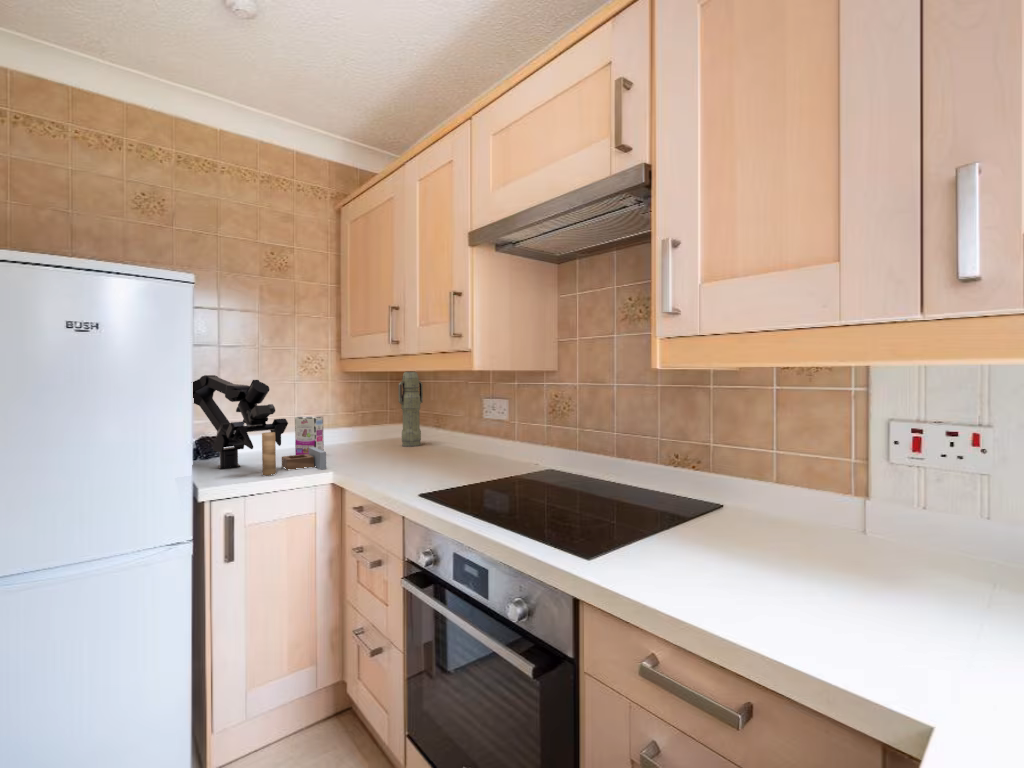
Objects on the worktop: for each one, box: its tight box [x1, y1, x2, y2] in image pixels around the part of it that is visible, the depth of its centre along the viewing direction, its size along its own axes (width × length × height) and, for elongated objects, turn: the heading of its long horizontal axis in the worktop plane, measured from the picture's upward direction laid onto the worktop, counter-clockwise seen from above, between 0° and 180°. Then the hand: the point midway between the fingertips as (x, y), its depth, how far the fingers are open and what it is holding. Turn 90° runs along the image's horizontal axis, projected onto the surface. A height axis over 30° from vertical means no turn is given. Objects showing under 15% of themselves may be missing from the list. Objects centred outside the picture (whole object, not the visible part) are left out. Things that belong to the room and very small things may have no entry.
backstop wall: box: [309, 447, 327, 470], centre depth 178 cm, size 16×2×6 cm, turn 36°
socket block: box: [281, 454, 315, 470], centre depth 177 cm, size 9×9×4 cm
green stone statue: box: [397, 371, 424, 448], centre depth 230 cm, size 9×12×35 cm
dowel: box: [261, 431, 277, 476], centre depth 163 cm, size 4×4×14 cm
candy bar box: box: [294, 415, 325, 455], centre depth 202 cm, size 11×5×16 cm, turn 68°
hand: (266, 446), depth 164 cm, fingers open, 9 cm apart
